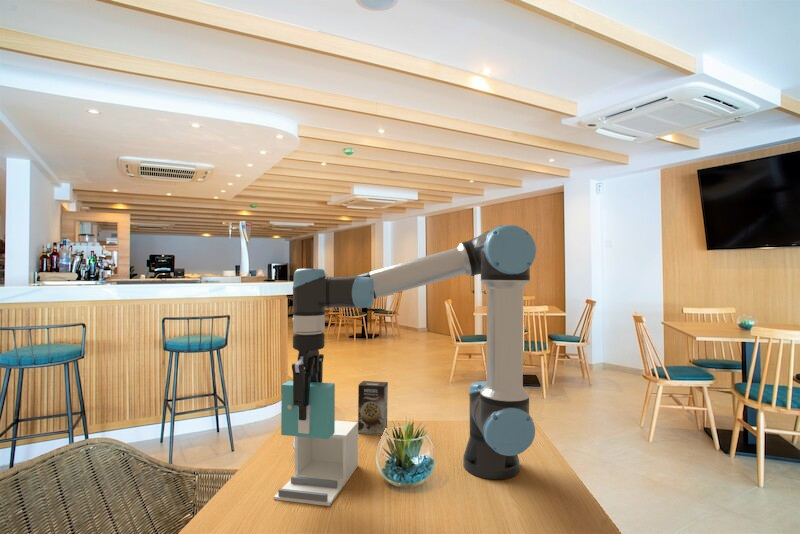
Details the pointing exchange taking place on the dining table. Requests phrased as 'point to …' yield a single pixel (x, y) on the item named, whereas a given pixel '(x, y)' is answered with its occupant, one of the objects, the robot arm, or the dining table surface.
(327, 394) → the door
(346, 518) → the dining table surface
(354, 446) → the cabinet
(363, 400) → the coffee box
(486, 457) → the robot arm
